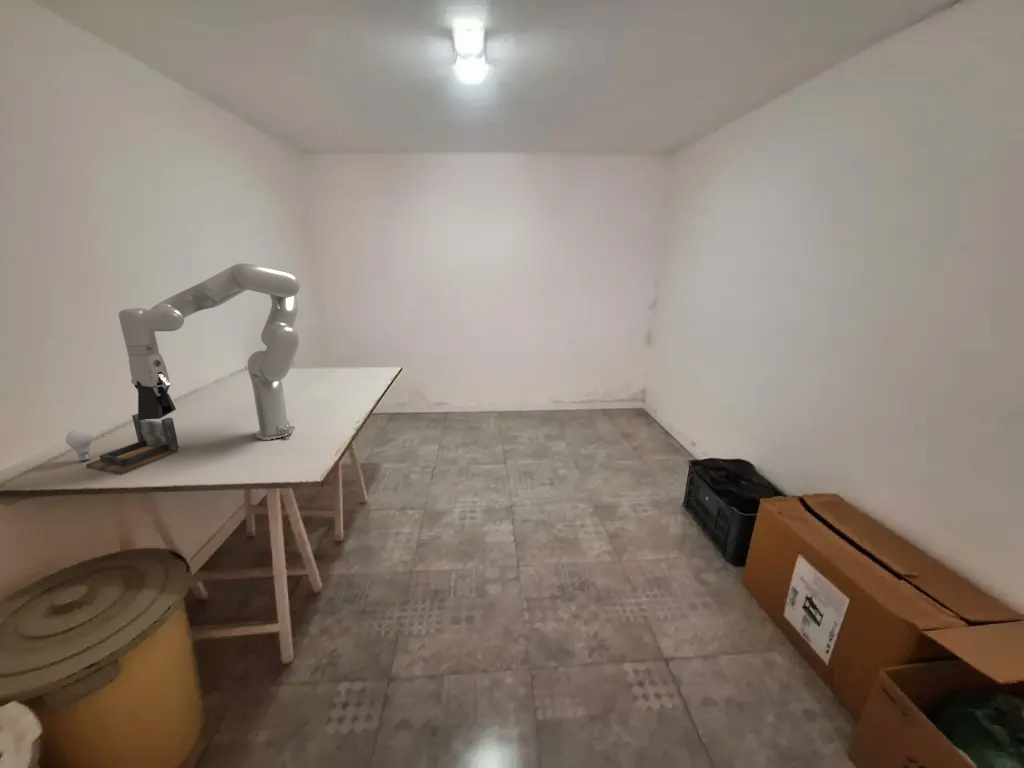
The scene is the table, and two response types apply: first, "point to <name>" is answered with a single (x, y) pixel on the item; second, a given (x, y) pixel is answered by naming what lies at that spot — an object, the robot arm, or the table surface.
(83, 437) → the lightbulb
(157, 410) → the phone stand
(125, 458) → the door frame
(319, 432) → the table surface
